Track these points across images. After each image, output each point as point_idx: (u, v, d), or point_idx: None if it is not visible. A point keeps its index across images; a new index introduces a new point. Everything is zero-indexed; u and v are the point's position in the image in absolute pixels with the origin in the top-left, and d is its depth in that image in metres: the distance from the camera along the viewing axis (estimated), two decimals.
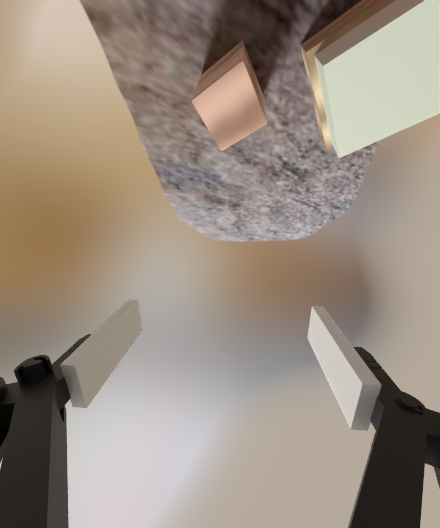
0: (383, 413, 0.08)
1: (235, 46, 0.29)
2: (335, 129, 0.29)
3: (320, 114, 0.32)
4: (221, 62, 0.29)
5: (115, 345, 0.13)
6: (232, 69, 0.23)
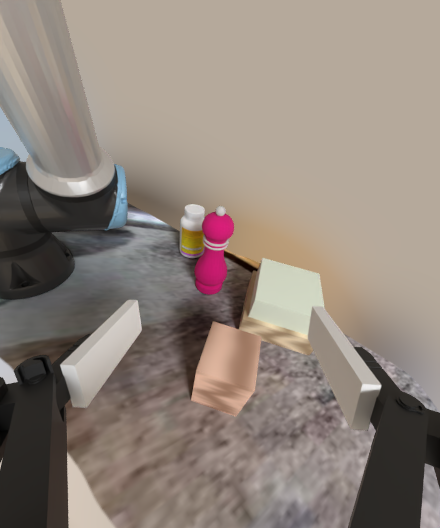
0: (383, 413, 0.08)
1: None
2: (299, 312, 0.35)
3: (285, 331, 0.38)
4: None
5: (115, 345, 0.13)
6: (210, 329, 0.29)
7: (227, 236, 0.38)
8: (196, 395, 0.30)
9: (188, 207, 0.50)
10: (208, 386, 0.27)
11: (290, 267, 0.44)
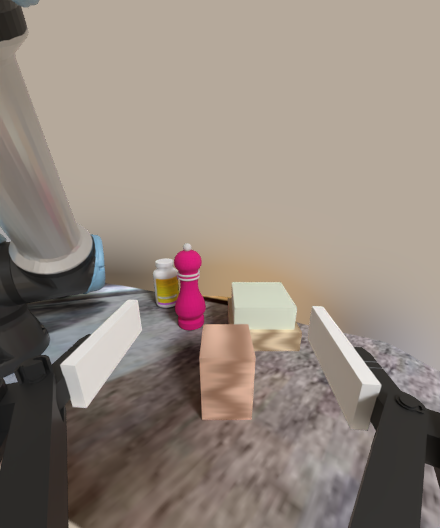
0: (383, 413, 0.08)
1: None
2: (273, 307, 0.41)
3: (270, 331, 0.42)
4: None
5: (115, 345, 0.13)
6: (203, 329, 0.32)
7: (197, 265, 0.45)
8: (206, 404, 0.29)
9: (158, 261, 0.57)
10: (214, 378, 0.28)
11: (256, 283, 0.52)
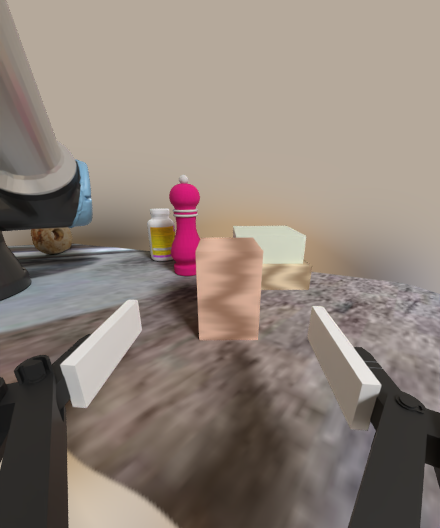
0: (383, 413, 0.08)
1: None
2: (280, 236, 0.37)
3: (276, 265, 0.37)
4: None
5: (115, 345, 0.13)
6: (200, 240, 0.27)
7: (195, 198, 0.41)
8: (204, 318, 0.24)
9: (153, 209, 0.53)
10: (213, 281, 0.23)
11: (260, 226, 0.47)
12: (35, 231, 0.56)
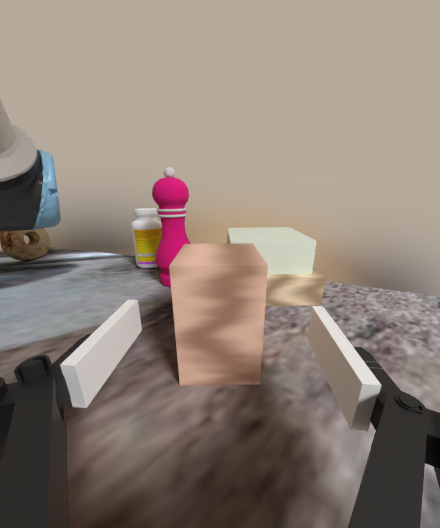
0: (383, 413, 0.08)
1: None
2: (284, 240, 0.30)
3: (282, 276, 0.30)
4: None
5: (115, 345, 0.13)
6: (183, 247, 0.20)
7: (182, 195, 0.34)
8: (185, 357, 0.18)
9: None
10: (197, 307, 0.16)
11: (258, 228, 0.40)
12: (4, 235, 0.49)
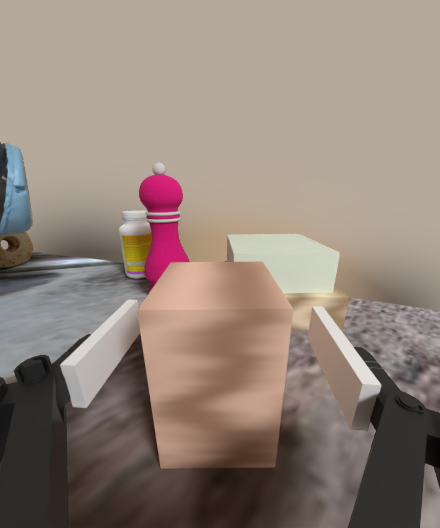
0: (383, 413, 0.08)
1: None
2: (300, 253, 0.24)
3: (296, 296, 0.25)
4: None
5: (115, 345, 0.13)
6: (168, 268, 0.15)
7: (175, 196, 0.29)
8: (167, 434, 0.12)
9: (126, 211, 0.41)
10: (183, 368, 0.11)
11: (264, 235, 0.35)
12: None
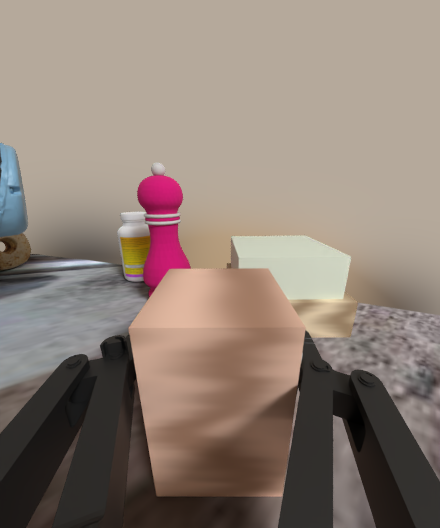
0: (302, 379, 0.09)
1: None
2: (309, 256, 0.23)
3: (302, 301, 0.23)
4: None
5: None
6: (166, 276, 0.14)
7: (174, 197, 0.27)
8: (163, 461, 0.11)
9: None
10: (180, 392, 0.09)
11: (269, 236, 0.33)
12: None
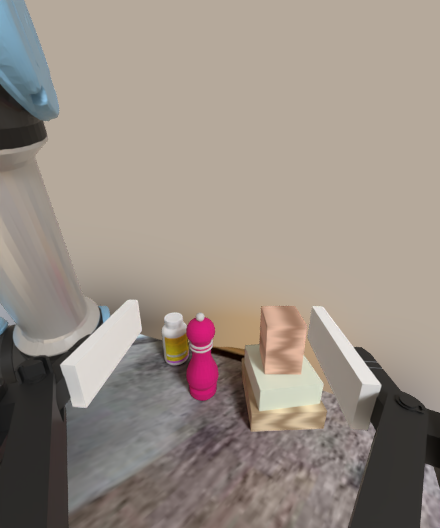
0: (383, 413, 0.08)
1: (260, 352, 0.47)
2: (300, 385, 0.39)
3: (293, 411, 0.39)
4: (262, 347, 0.44)
5: (115, 345, 0.13)
6: (262, 309, 0.43)
7: (211, 337, 0.43)
8: (268, 362, 0.40)
9: (167, 317, 0.55)
10: (276, 341, 0.39)
11: None
12: None
